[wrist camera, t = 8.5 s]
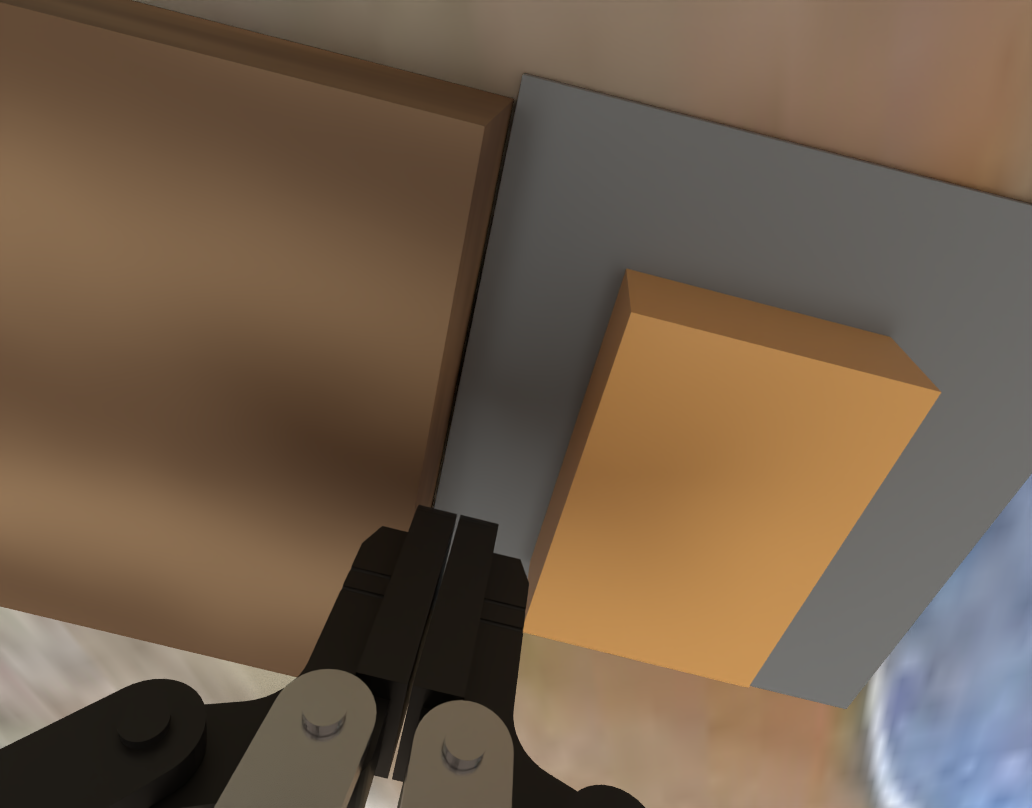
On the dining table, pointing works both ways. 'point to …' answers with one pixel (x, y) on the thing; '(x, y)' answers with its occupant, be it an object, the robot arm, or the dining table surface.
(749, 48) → the dining table surface
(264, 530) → the wooden block
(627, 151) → the mat
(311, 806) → the robot arm
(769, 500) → the orange rectangular block
